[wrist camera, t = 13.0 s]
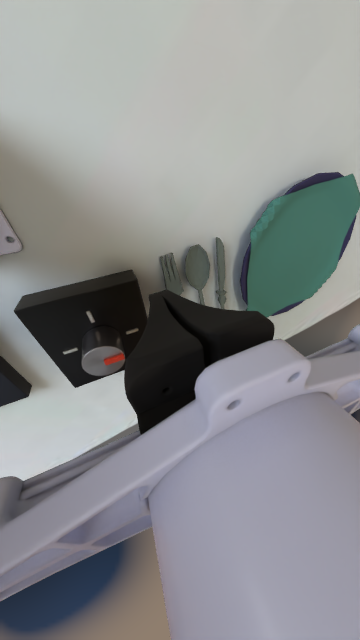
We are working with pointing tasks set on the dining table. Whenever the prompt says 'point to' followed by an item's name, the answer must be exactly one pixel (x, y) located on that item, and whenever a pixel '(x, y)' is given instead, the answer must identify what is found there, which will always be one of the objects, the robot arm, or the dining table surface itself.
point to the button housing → (11, 384)
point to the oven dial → (102, 351)
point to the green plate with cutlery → (284, 246)
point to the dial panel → (84, 319)
